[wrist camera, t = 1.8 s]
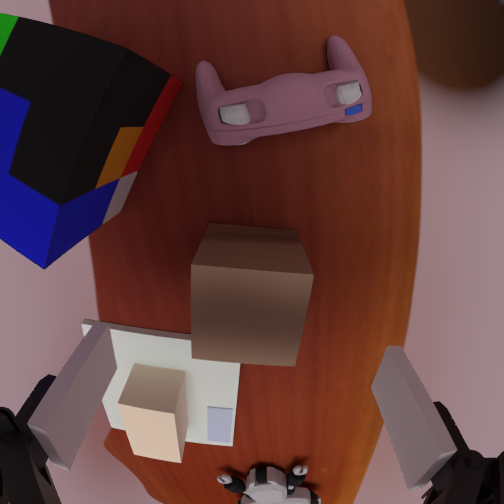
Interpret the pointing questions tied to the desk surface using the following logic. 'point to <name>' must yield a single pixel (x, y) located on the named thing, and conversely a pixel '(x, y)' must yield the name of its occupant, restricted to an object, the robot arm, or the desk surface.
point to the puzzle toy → (70, 132)
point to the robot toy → (271, 487)
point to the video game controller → (284, 99)
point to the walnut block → (249, 295)
